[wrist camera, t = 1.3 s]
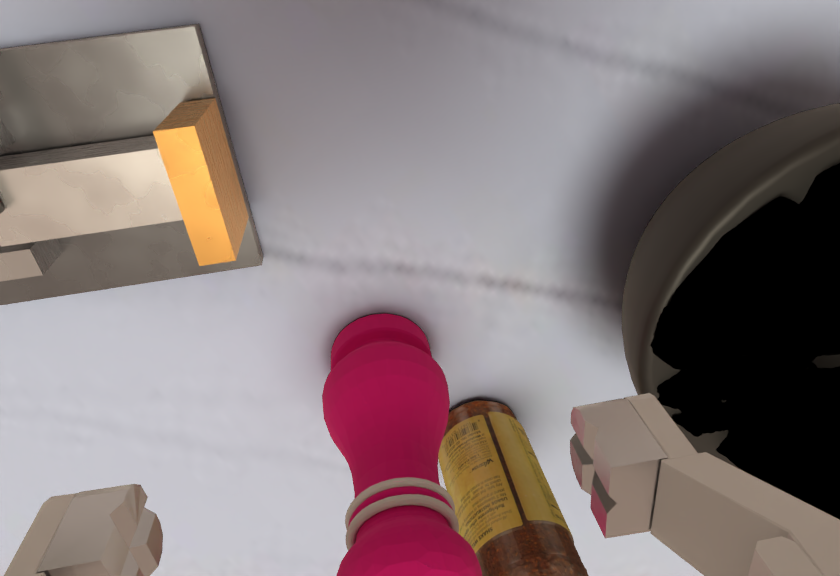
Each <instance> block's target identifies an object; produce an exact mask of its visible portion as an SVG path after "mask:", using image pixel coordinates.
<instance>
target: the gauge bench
mask: <svg viewBox="0 0 840 576" xmlns="http://www.w3.org/2000/svg"><path fill="white" fill-rule="evenodd" d="M209 98H215V99H216V102H217V106H218V109H219V113H220V116H221V120H222V123H223V127H224V131H225V134H226V138H227V141H228V145H229V148H230V152H231V155H232V159H233V163H234V166H235V170H236V173H237V177H238V180H239V184H240V187H241V191H242V195H243V198H244V202H245V205H246V209H247V212H248V216H249V218H248V221H247V225H246V228H245V231H244V235H243V238H242V242H241V245H240V248H239V252H238V255H237V258H236V261H230V262H223V263H217V264H210V265H204V266H199V264H198V261H197V258H196V255H195V252H194V249H193V246H192V244H191V241H190V238H189V235H188V232H187V229H186V226H185V223H184V221H183V220H179V221H172V222H166V223H159V224H152V225H145V226H138V227H132V228H125V229H118V230H111V231H104V232H98V233H91V234H84V235H77V236H70V237H64V238H57V239H50V240H43V241H36V242H30V243H23V244H16V245H9V246H2V247H1V246H0V305H5V304H11V303H18V302H24V301H31V300H37V299H44V298H51V297H57V296H64V295H70V294H77V293H83V292H90V291H96V290H103V289H109V288H116V287H122V286H129V285H135V284H142V283H148V282H155V281H162V280H168V279H175V278H181V277H188V276H194V275H201V274H207V273H214V272H220V271H227V270H233V269H240V268H246V267H253V266H259V265H262V261H263V253H262V250H261V246H260V242H259V239H258V235H257V232H256V228H255V224H254V221H253V217H252V213H251V210H250V206H249V203H248V199H247V195H246V192H245V188H244V185H243V181H242V177H241V174H240V170H239V167H238V163H237V159H236V156H235V152H234V149H233V145H232V141H231V138H230V134H229V131H228V127H227V123H226V120H225V116H224V113H223V109H222V105H221V102H220V98H219V95H218V91H217V87H216V84H215V80H214V77H213V73H212V69H211V66H210V62H209V59H208V55H207V51H206V48H205V44H204V40H203V37H202V33H201V30H200V26H199V24H192V25H184V26H176V27H168V28H161V29H153V30H145V31H137V32H129V33H121V34H113V35H105V36H97V37H89V38H82V39H74V40H66V41H58V42H50V43H42V44H34V45H26V46H18V47H11V48H3V49H0V157H1V156H8V155H15V154H23V153H30V152H37V151H44V150H52V149H59V148H66V147H73V146H81V145H88V144H95V143H102V142H110V141H117V140H124V139H131V138H139V137H146V136H153V135H154V134H153V131H154V130H155V129H156V127H157V126H158V125H159V124H160V123H161V122H162V121H163V120H164V119H165V118H166V117H167V116H168V115H169V114H170V113H171V112H172V110H173V109H174V108H175V107H176V106H177V105H178V104H179V103H180V102H187V101H195V100H202V99H209Z"/></svg>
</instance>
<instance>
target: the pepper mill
mask: <svg viewBox="0 0 840 576" xmlns="http://www.w3.org/2000/svg"><path fill="white" fill-rule="evenodd" d="M322 399H323V412H324V419H325V422H326V425H327V428H328V430H329V433H330V436H331V438H332V439H333V441H334V443H335V444H336V446H337V447H338V449H339V450H340V451H341V453H342V454H343V456H344V457H345V459H346V460H347V462H348V464H349V467H350V470H351V473H352V478H353V485H354V491H355V499H354V500H353V502H352V503H351V504H350V506H349V508H348V510H347V513H346V519H345V524H346V529H347V533H346V545H347V549H348V550H349V551H348V552H347V554H346V555H345V557H344V558H343V560H342V562H341V564H340V567H339V570H338V573H337V576H482V570H481V567H480V564H479V561H478V559H477V556H476V554H475V552H474V550H473V548H472V547H471V545H470V544H469V543H468V542H467V541H466V540H465V539H464V538H463V537H462V536H461V535H460V534H458V532H459V523H458V519H457V517H456V515H455V505H454V502H453V499H452V497H451V496H450V494H449V493H448V492H447V491H446V490H445V489H444V488H443V487H441V486H440V484H439V478H438V467H437V464H438V454H439V449H440V446H441V442H442V439H443V436H444V433H445V430H446V427H447V422H448V415H449V404H450V401H449V393H448V385H447V382H446V378H445V375H444V373H443V371H442V369H441V368H440V366H439V365H438V363H437V362H436V361H435V360H434V359H433V358H432V356H431V352H430V347H429V343H428V340H427V338H426V336H425V334H424V333H423V331H422V330H421V329H420V328H419V327H418V326H417V325H416V324H414V323H413V322H412V321H410V320H408V319H406V318H404V317H401V316H397V315H393V314H386V313H384V314H373V315H369V316H366V317H362V318H359V319H357V320H355V321H354V322H352V323H350V324H349V325H348V326H346V327H345V328H344V329H343V330H342V331H341V332H340V333H339V335H338V336H337V338H336V339H335V341H334V344H333V346H332V351H331V372H330V374H329V375H328V377H327V379H326V382H325V385H324V390H323V395H322Z"/></svg>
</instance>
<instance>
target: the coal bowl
mask: <svg viewBox="0 0 840 576" xmlns="http://www.w3.org/2000/svg"><path fill="white" fill-rule="evenodd" d="M622 334H623V342H624V349H625V356H626V360H627V364H628V367H629V371H630V375H631V379H632V381H633V384H634V386H635V389H636V391H637V394H638V395H641V394H647V393H650V394H652V395H654V396H655V397H656V399H657V400H658V401H659V402H660V404H661V405H662V406H663V408H664V409H665V410H666V412H667V413H668V414H669V416H670V417H671V418H672V420H673V421H674V422H675V424H676V425H677V426H678V427H679V429H680V430H681V431H682V433H683V434H684V435H685V437H686V438H687V439H688V441H689V442H690V443H691V445H692V446H693V447H694V449H695V450H696V451H697V452H698V453H703V452H707V453H709V454H711V455H713V456H715V457H717V458H719V459H721V460H723V461H724V462H726V463H728V464H730V465H732V466H734V467H736V468H738V469H740V470H742V471H744V472H746V473H748V474H750V475H752V476H754V477H756V478H758V479H760V480H762V481H764V482H766V483H768V484H770V485H772V486H774V487H776V488H778V489H780V490H782V491H784V492H786V493H788V494H790V495H792V496H794V497H796V498H798V499H800V500H802V501H804V502H805V503H807V504H809V505H811V506H813V507H815V508H817V509H819V510H821V511H823V512H825V513H827V514H829V515H831V516H833V517H835V518H837V519H839V520H840V103H837V104H832V105H828V106H823V107H819V108H815V109H811V110H807V111H804V112H800V113H797V114H794V115H791V116H788V117H785V118H782V119H779V120H777V121H775V122H772V123H770V124H767V125H765V126H763V127H761V128H758V129H756V130H754V131H752V132H750V133H748V134H746V135H744V136H742V137H740V138H738V139H736V140H735V141H733V142H731V143H730V144H728V145H727V146H725V147H723V148H722V149H720V150H719V151H717V152H716V153H715V154H713V155H712V156H711V157H709V158H708V159H706V160H705V161H704V162H703V163H701V164H700V165H699V166H698V167H697V168H696V169H694V170H693V171H692V172H691V173H690V174H688V175H687V176H686V177H685V178H684V179H683V180H682V181H681V182H680V183H679V184H678V185H677V186H676V187H675V189H674V190H673V191H672V192H671V193H670V194H669V195H668V196H667V198H666V199H665V200H664V202H663V203H662V204H661V206H660V207H659V208H658V209H657V211H656V212H655V214H654V216H653V217H652V219H651V220H650V222H649V223H648V225H647V227H646V229H645V231H644V232H643V234H642V236H641V238H640V240H639V242H638V244H637V247H636V249H635V252H634V254H633V257H632V260H631V263H630V266H629V269H628V274H627V278H626V283H625V287H624V293H623V302H622Z"/></svg>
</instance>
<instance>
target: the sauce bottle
mask: <svg viewBox="0 0 840 576" xmlns="http://www.w3.org/2000/svg"><path fill="white" fill-rule="evenodd" d="M438 458H439V463H440V466H441V470H442V474H443V478H444V482H445V486H446V489H447V492H448V493H449V494H450V496H451V497H452V499H453V502H454V505H455V515H456V517H457V519H458V523H459V532H458V534H460V535H461V536H462V537H463V538H464V539H465V540H466V541H467V542H468V543H469V544H470V545H471V547H472V548H473V550H474V552H475V554H476V556H477V559H478V561H479V564H480V567H481V570H482V576H588V574H587V570H586V569H585V567H584V565H583V563H582V562H581V559H580V557H579V555H578V552H577V550H576V548H575V546H574V541H573V537H572V535H571V532H570V530H569V528H568V526H567V524H566V522H565V519H564V517H563V515H562V513H561V511H560V509H559V506H558V504H557V502H556V500H555V497H554V495H553V493H552V491H551V489H550V486H549V484H548V482H547V480H546V478H545V476H544V473H543V471H542V469H541V467H540V464H539V462H538V460H537V458H536V455H535V453H534V451H533V449H532V447H531V444H530V442H529V440H528V438H527V435H526V433H525V430H524V429H523V427H522V426H521V424H520V423H519V422H518V421H517V420H516V417H515V416H514V415H513V413H512V411H511V410H510V409H509V408H508V407H507V406H506V405H504V404H500V403H497V402H492V401H482V400H479V401H472V402H469V403H464V404H463V405H461V406H459V407H458V408H455V409H453V410H452V411H450V412H449V415H448V422H447V427H446V430H445V433H444V436H443V439H442V442H441V446H440V449H439V454H438Z"/></svg>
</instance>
